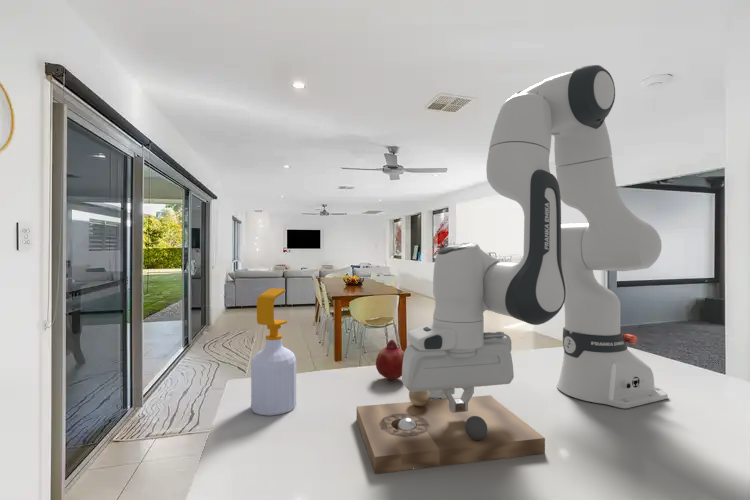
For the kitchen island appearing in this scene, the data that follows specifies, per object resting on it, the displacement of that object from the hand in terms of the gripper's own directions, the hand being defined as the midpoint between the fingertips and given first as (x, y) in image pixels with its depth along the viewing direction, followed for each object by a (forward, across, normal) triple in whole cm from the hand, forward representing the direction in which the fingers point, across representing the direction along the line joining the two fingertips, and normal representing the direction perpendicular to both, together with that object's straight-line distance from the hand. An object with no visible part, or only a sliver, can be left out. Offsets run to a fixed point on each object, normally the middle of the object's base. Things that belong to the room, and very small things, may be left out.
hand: (458, 410), depth 68 cm
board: (+4, +3, 0) cm, 5 cm away
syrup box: (+4, -3, -18) cm, 19 cm away
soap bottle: (+4, +33, -18) cm, 38 cm away
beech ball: (-1, +5, -7) cm, 9 cm away
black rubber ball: (0, 0, +7) cm, 7 cm away
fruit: (+4, +5, -29) cm, 30 cm away
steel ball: (+2, +10, 0) cm, 10 cm away
